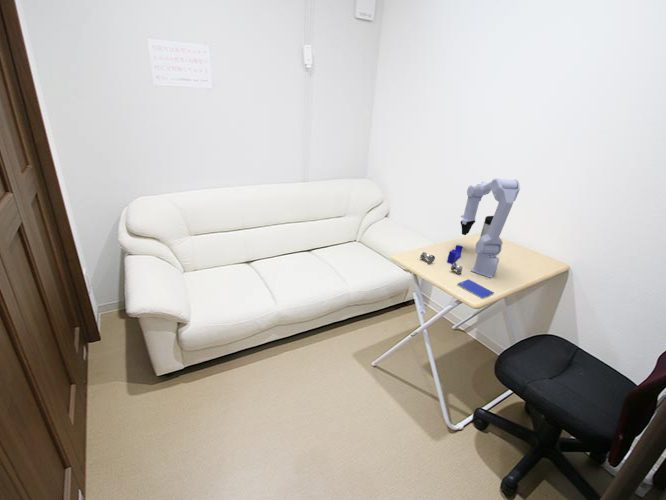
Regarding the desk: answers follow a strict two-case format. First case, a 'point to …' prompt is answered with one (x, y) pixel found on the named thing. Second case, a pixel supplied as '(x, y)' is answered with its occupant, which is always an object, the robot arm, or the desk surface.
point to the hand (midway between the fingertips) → (465, 233)
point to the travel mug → (486, 225)
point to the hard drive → (475, 289)
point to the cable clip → (455, 254)
